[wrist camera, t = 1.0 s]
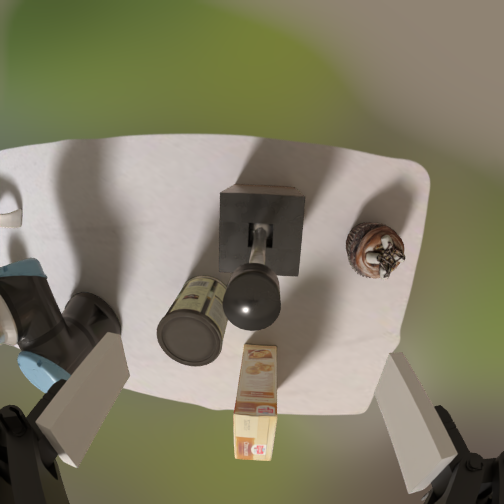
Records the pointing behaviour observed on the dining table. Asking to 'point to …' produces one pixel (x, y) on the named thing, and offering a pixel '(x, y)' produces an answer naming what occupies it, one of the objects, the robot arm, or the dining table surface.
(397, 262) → the cupcake
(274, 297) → the plunger
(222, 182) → the dining table surface
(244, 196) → the grey brown upright block
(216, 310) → the coffee can
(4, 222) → the spoon rest
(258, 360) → the coffeecake box
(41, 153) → the dining table surface
